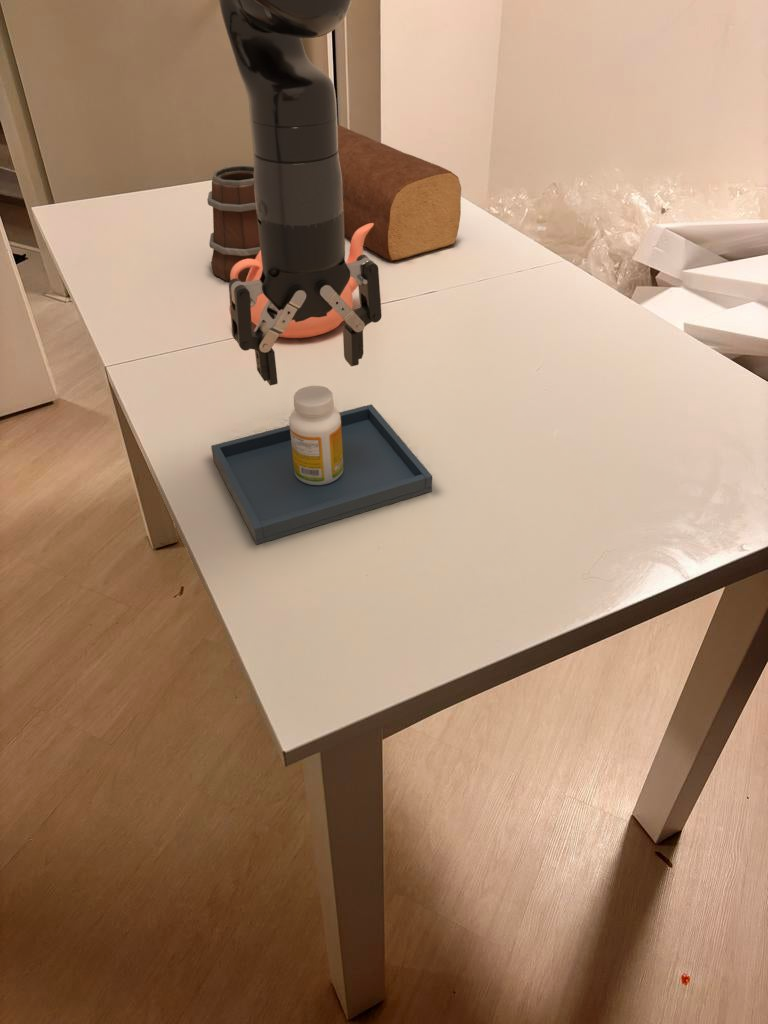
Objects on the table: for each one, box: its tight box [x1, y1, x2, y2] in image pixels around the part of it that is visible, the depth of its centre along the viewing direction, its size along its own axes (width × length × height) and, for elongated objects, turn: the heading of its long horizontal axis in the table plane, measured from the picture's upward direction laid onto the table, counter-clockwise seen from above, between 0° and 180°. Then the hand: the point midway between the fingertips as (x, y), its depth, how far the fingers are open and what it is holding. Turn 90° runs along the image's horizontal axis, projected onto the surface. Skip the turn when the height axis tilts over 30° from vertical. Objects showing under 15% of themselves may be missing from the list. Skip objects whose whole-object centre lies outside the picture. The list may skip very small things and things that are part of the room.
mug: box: [207, 165, 261, 282], centre depth 128 cm, size 16×12×15 cm
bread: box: [337, 124, 462, 262], centre depth 142 cm, size 16×39×13 cm, turn 34°
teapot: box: [228, 223, 374, 339], centre depth 113 cm, size 22×16×12 cm
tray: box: [210, 403, 433, 545], centre depth 87 cm, size 20×16×2 cm
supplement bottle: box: [288, 385, 343, 485], centre depth 85 cm, size 5×5×10 cm
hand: (311, 371), depth 80 cm, fingers open, 8 cm apart
